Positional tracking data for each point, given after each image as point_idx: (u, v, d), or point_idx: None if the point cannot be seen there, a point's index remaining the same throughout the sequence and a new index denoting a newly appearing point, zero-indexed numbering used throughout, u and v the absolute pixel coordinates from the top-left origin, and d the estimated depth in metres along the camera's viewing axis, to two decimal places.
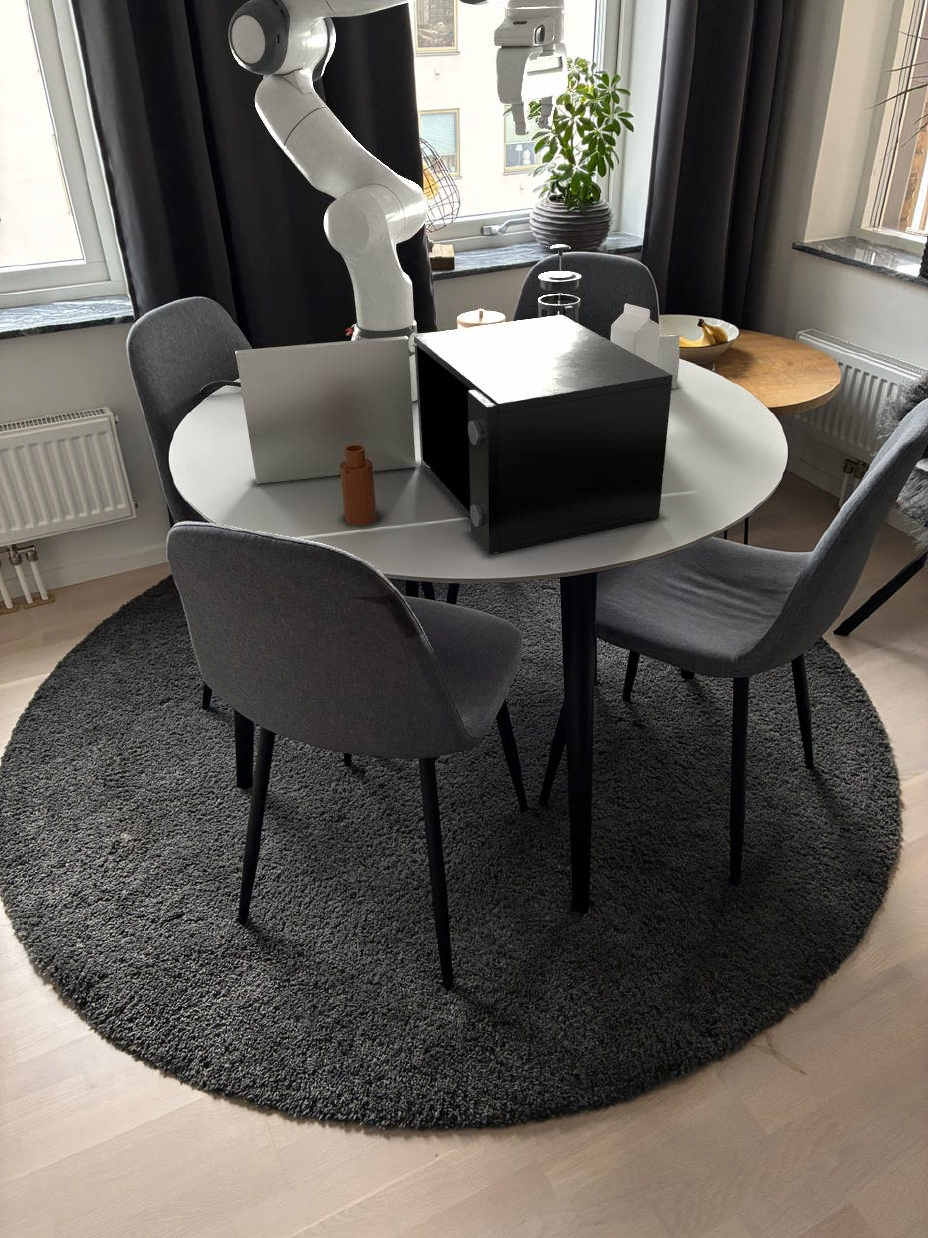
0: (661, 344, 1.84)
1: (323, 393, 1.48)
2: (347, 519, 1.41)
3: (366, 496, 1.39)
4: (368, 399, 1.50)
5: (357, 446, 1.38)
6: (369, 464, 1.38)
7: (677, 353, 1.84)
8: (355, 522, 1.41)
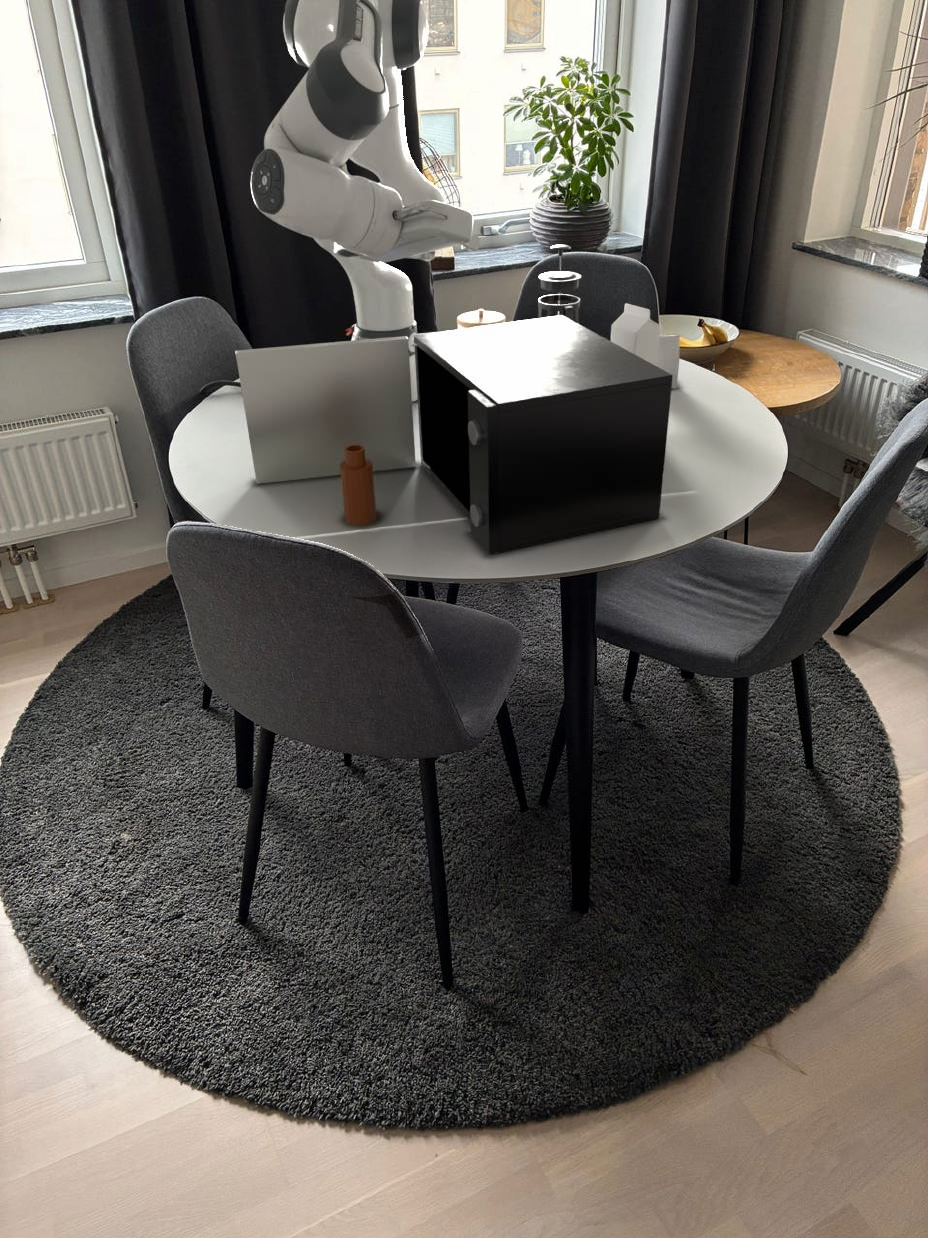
0: (661, 344, 1.84)
1: (323, 393, 1.48)
2: (347, 519, 1.41)
3: (366, 496, 1.39)
4: (368, 399, 1.50)
5: (357, 446, 1.38)
6: (369, 464, 1.38)
7: (677, 353, 1.84)
8: (355, 522, 1.41)
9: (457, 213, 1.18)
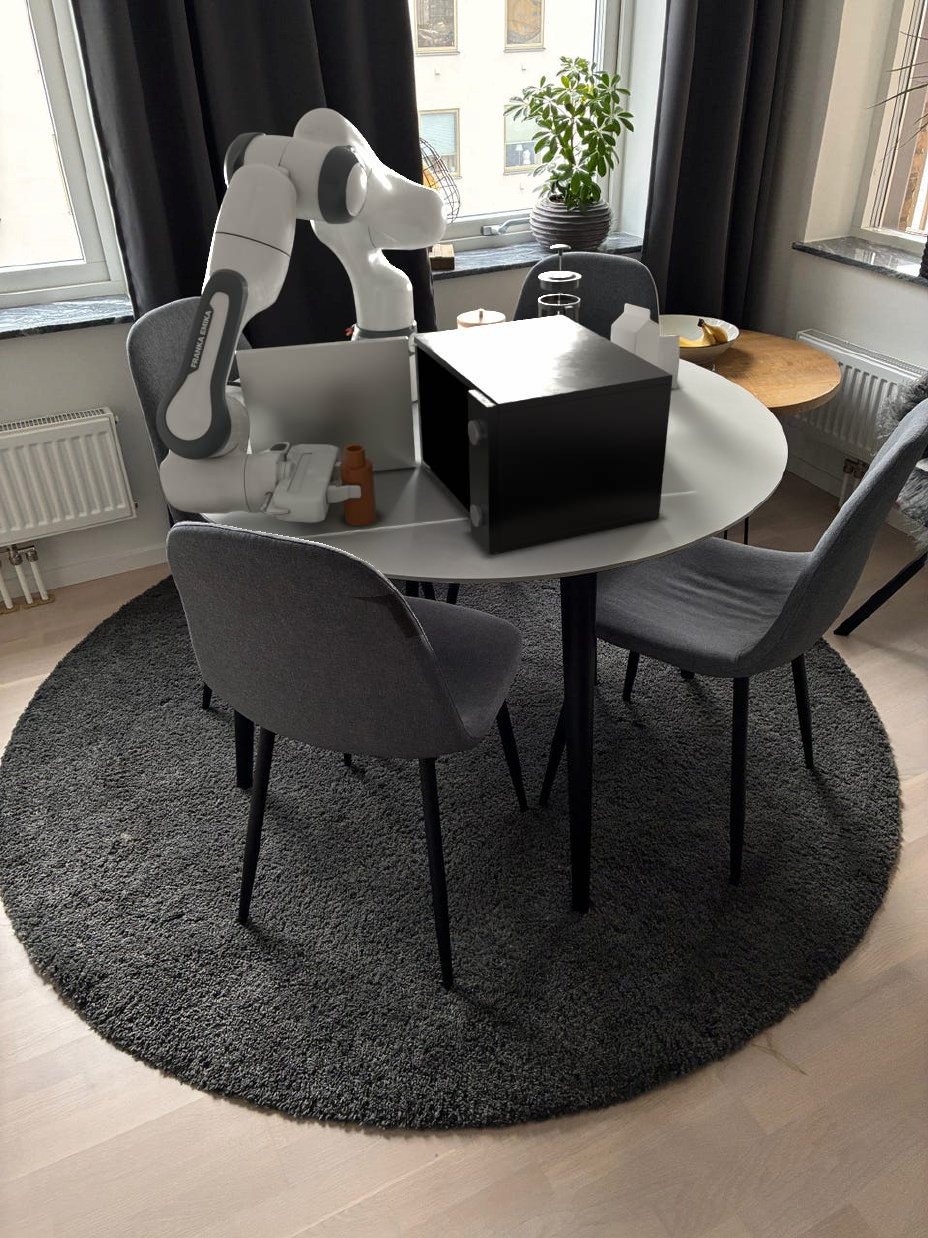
0: (661, 344, 1.84)
1: (323, 393, 1.48)
2: (347, 519, 1.41)
3: (366, 496, 1.39)
4: (368, 399, 1.50)
5: (357, 446, 1.38)
6: (369, 464, 1.38)
7: (677, 353, 1.84)
8: (355, 522, 1.41)
9: (298, 506, 1.31)
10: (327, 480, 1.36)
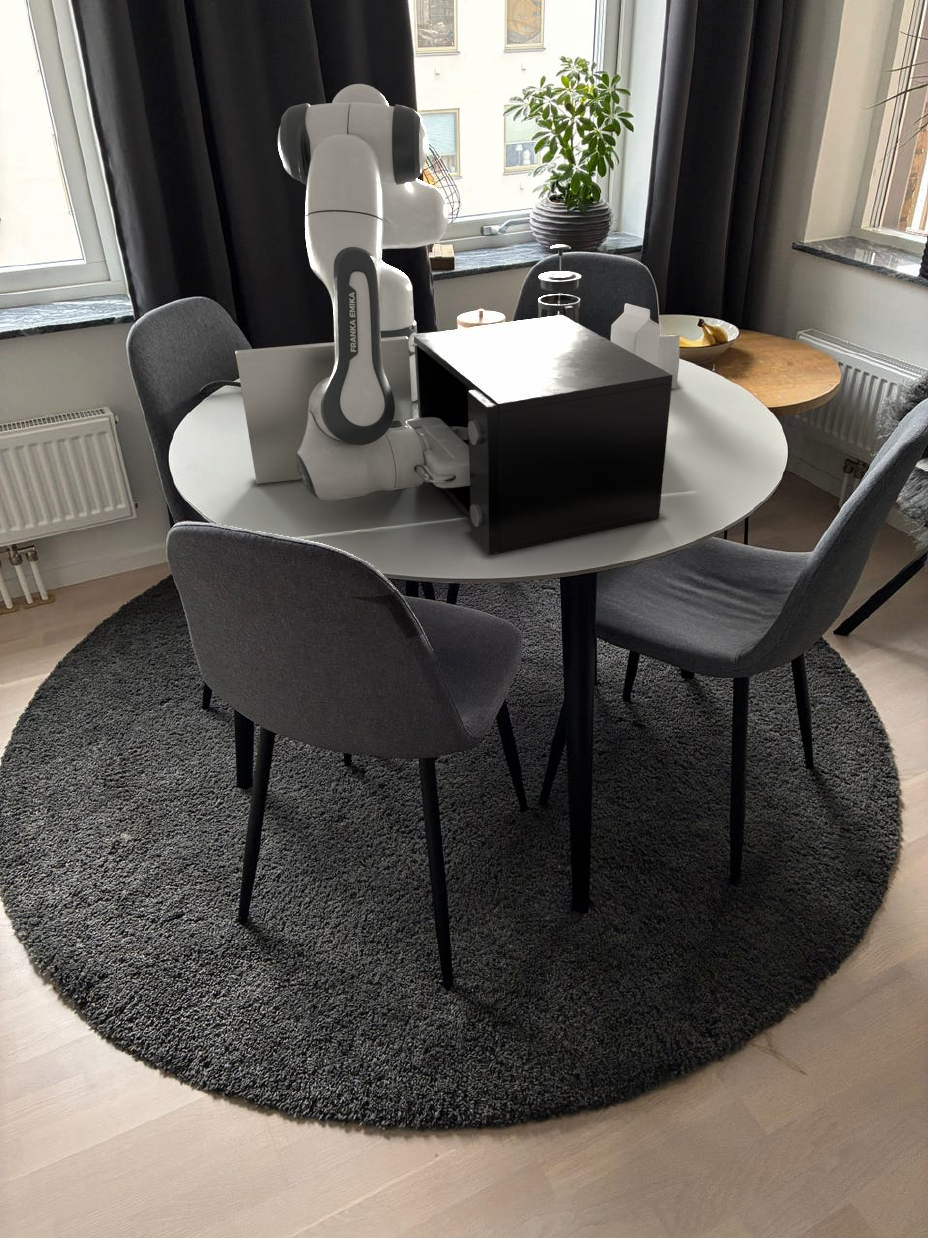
0: (661, 344, 1.84)
1: None
2: None
3: None
4: None
5: None
6: None
7: (677, 353, 1.84)
8: None
9: (464, 470, 1.36)
10: (467, 445, 1.41)
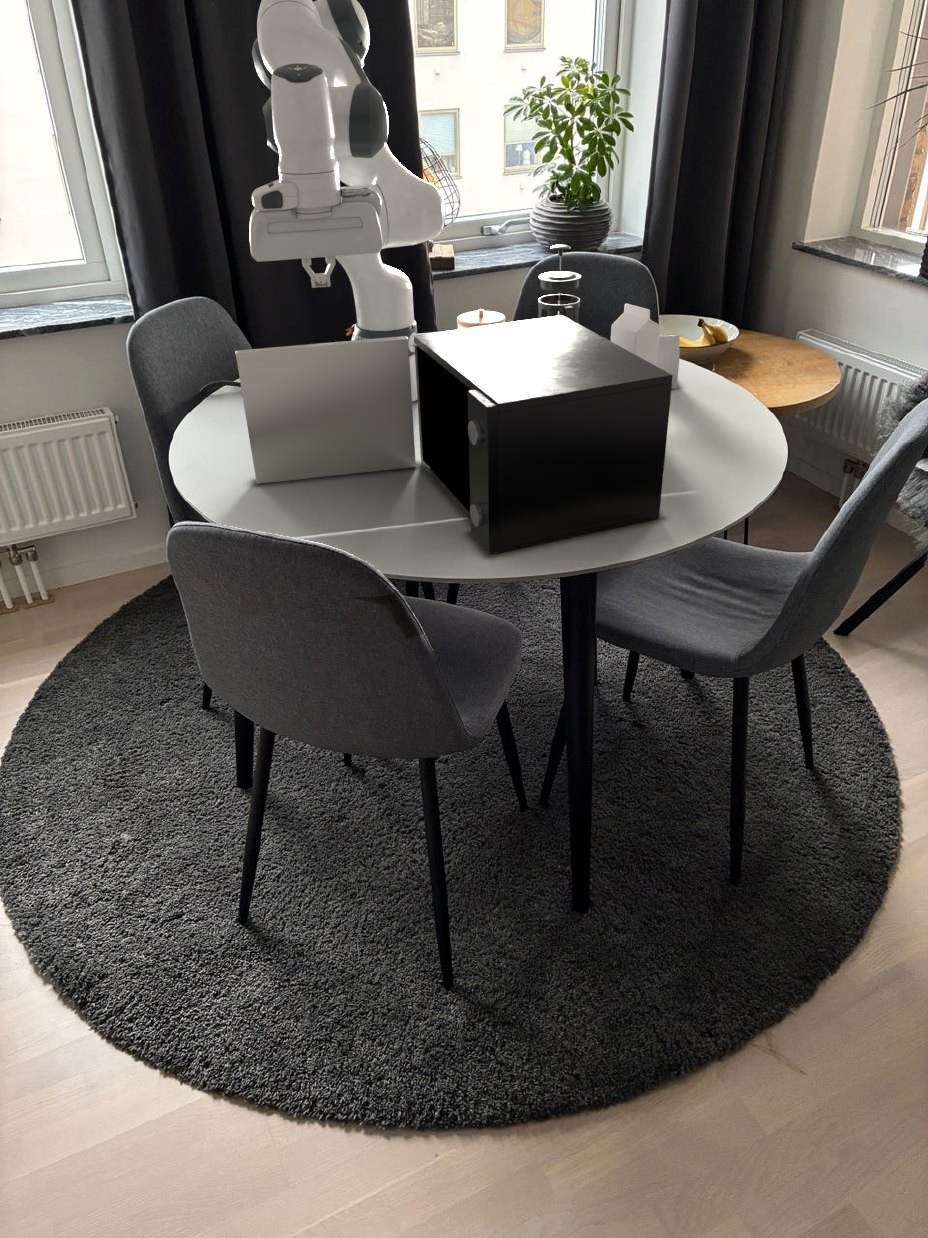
0: (661, 344, 1.84)
1: (323, 393, 1.48)
2: None
3: None
4: (368, 399, 1.50)
5: None
6: None
7: (677, 353, 1.84)
8: None
9: None
10: None
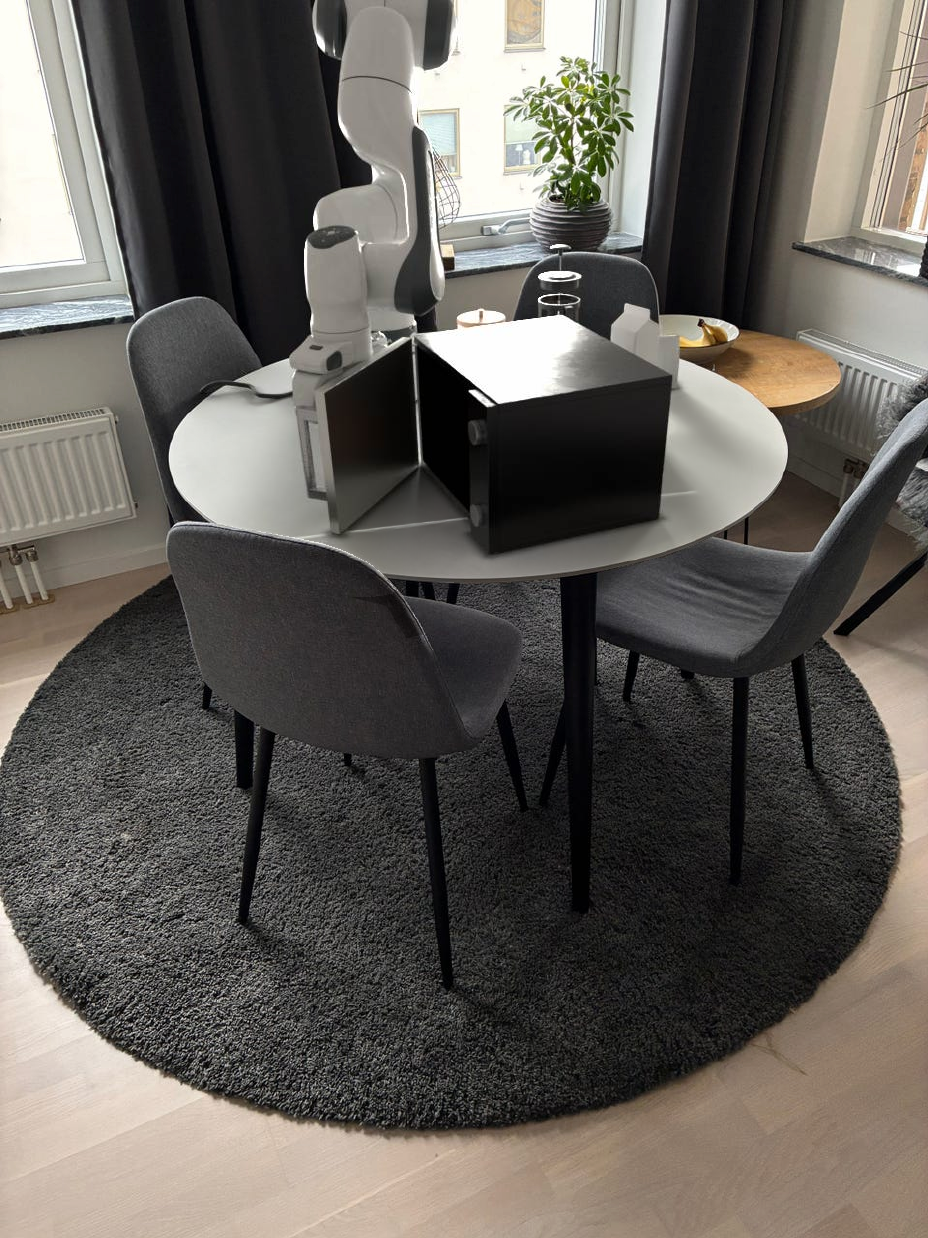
0: (661, 344, 1.84)
1: (372, 413, 1.40)
2: None
3: None
4: (395, 408, 1.47)
5: None
6: None
7: (677, 353, 1.84)
8: None
9: None
10: None
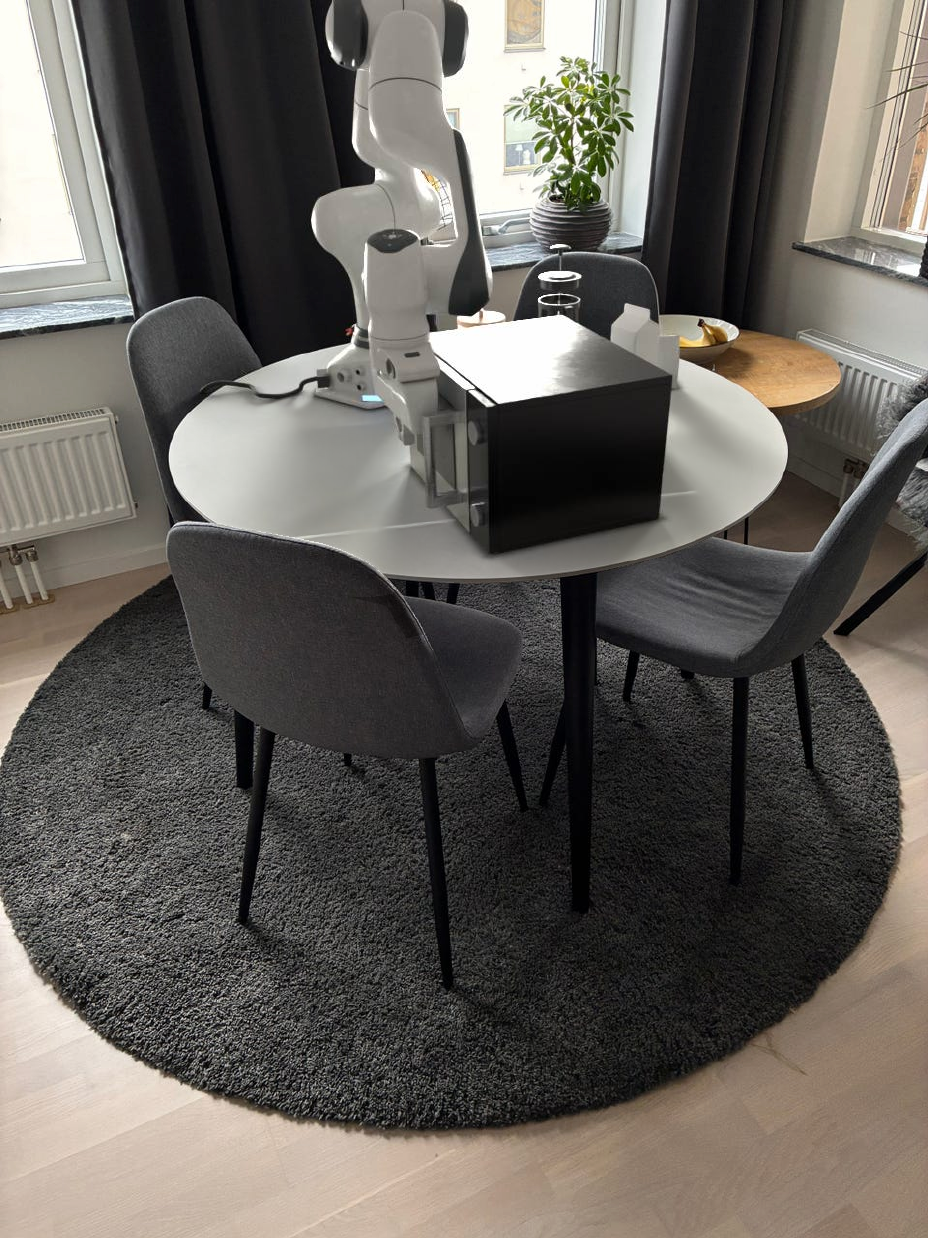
0: (661, 344, 1.84)
1: None
2: None
3: None
4: None
5: None
6: None
7: (677, 353, 1.84)
8: None
9: None
10: (388, 407, 1.42)
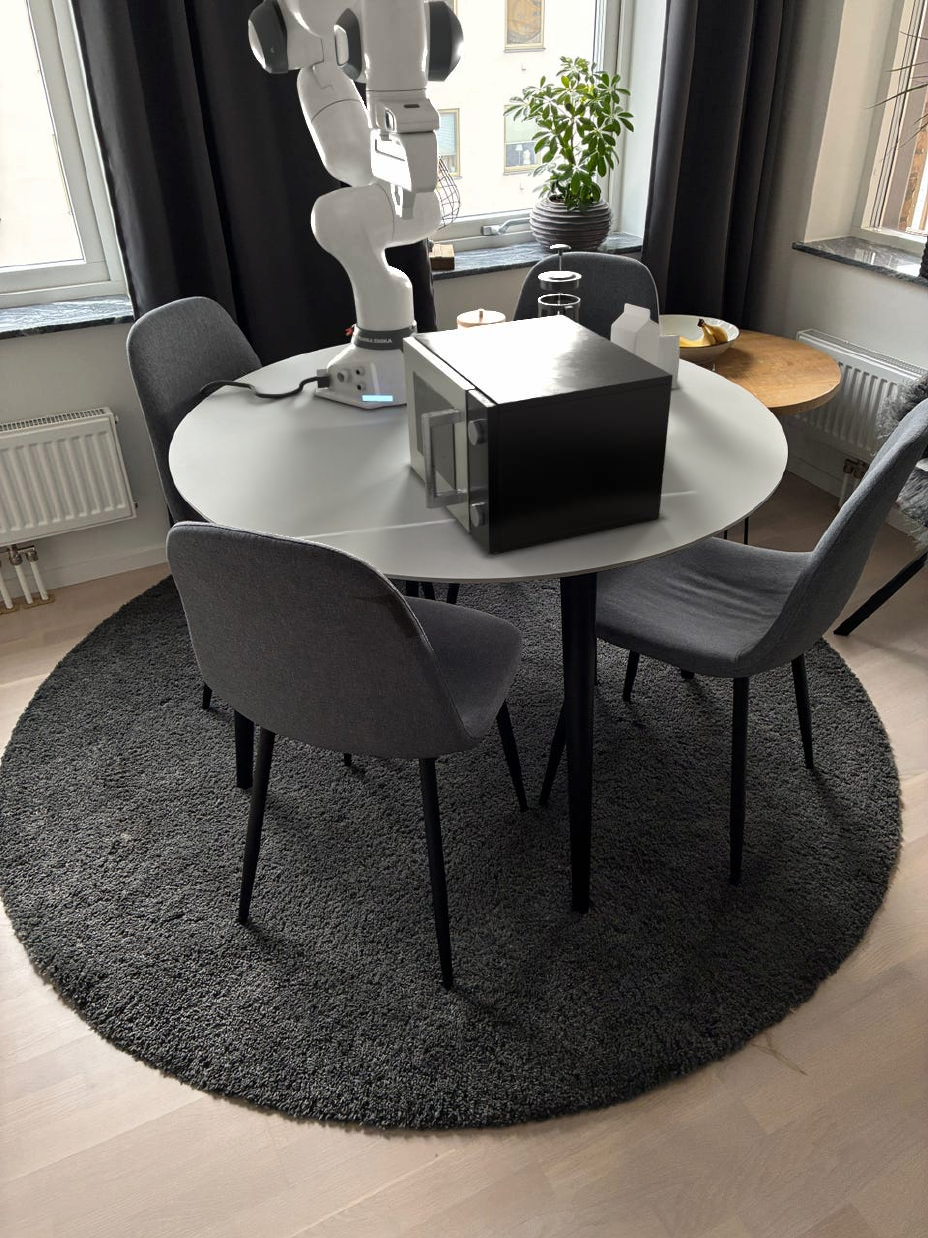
0: (661, 344, 1.84)
1: None
2: None
3: None
4: None
5: None
6: None
7: (677, 353, 1.84)
8: None
9: None
10: (386, 180, 1.38)
